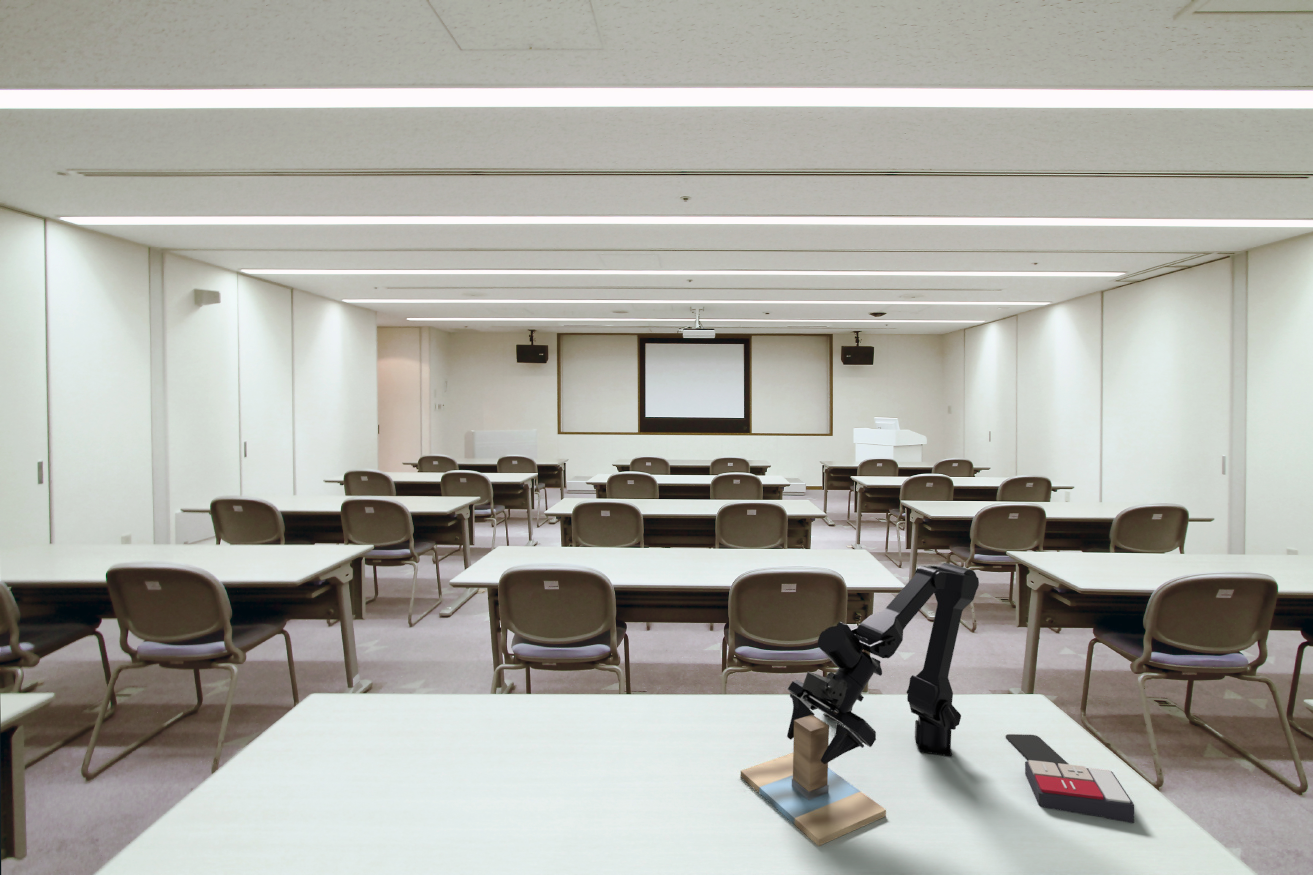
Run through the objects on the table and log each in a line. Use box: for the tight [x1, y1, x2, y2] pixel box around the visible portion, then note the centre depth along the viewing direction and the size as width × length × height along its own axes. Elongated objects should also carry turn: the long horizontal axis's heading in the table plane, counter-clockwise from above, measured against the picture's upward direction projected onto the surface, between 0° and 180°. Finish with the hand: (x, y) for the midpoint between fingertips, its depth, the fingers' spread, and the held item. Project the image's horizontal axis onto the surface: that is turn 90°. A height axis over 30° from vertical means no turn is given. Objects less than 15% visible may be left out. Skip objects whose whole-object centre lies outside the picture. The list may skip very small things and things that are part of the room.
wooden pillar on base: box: [791, 715, 830, 800], centre depth 120 cm, size 5×5×13 cm
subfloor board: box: [740, 752, 887, 847], centre depth 121 cm, size 22×16×1 cm
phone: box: [1005, 733, 1069, 765], centre depth 134 cm, size 7×1×15 cm
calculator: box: [1024, 760, 1135, 824], centre depth 121 cm, size 11×4×15 cm
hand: (805, 749), depth 119 cm, fingers open, 9 cm apart
